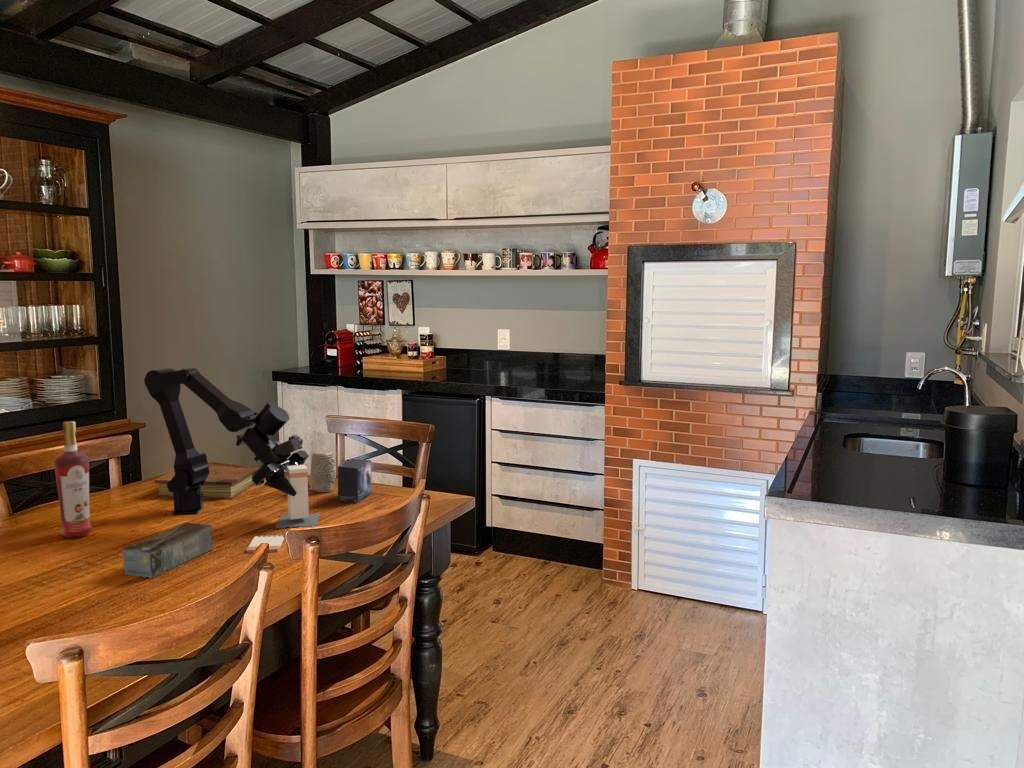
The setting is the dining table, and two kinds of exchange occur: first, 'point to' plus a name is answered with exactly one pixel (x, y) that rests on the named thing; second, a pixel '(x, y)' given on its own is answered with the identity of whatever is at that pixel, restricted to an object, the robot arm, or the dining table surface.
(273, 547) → the cream block pink end
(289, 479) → the beige tall block
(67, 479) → the liquor
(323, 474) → the carving
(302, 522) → the mat
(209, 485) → the diary
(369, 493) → the small box
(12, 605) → the dining table surface
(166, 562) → the grey piece
